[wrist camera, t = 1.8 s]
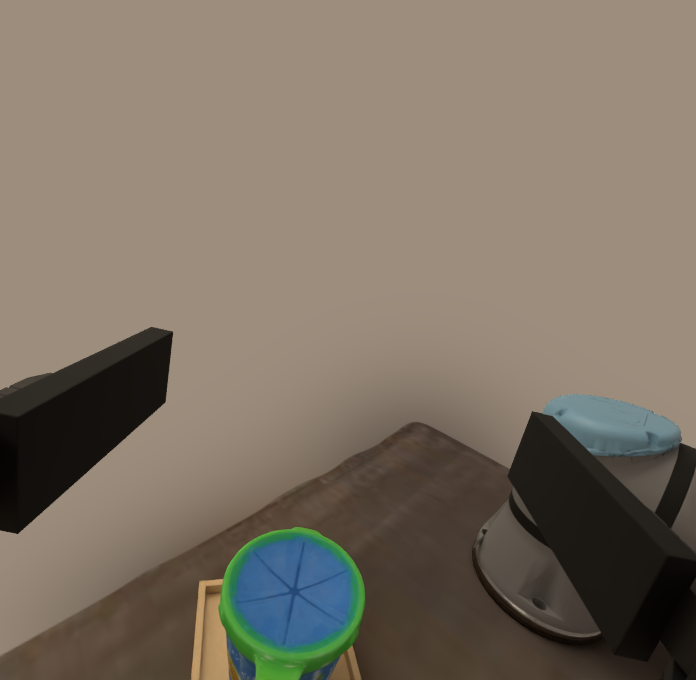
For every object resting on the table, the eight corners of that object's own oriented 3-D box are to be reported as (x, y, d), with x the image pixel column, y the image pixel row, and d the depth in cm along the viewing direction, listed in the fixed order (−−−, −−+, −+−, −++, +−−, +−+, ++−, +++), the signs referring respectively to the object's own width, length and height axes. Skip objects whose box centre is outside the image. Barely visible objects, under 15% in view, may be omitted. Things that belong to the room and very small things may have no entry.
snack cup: (317, 839, 25) (349, 732, 22) (158, 781, 26) (168, 672, 23) (353, 608, 39) (375, 526, 36) (252, 577, 40) (265, 495, 37)
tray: (330, 578, 42) (332, 569, 42) (387, 804, 27) (391, 792, 27) (198, 591, 38) (199, 580, 38) (175, 864, 23) (176, 852, 22)
